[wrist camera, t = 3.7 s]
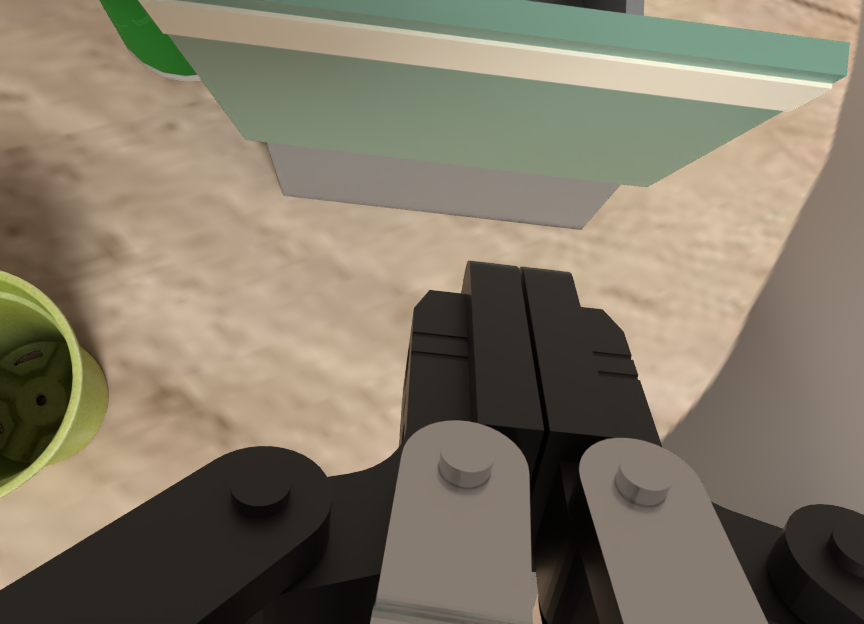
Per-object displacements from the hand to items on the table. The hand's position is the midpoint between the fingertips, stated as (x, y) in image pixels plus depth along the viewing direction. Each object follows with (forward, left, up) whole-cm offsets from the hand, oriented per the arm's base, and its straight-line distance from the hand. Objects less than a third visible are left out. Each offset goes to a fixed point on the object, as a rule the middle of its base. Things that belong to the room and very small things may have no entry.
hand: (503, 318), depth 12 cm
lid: (0, +10, -12) cm, 15 cm away
